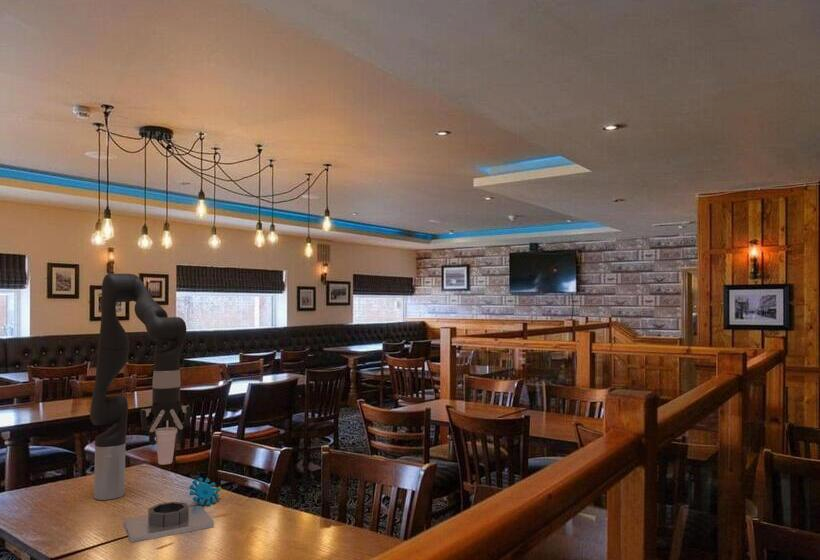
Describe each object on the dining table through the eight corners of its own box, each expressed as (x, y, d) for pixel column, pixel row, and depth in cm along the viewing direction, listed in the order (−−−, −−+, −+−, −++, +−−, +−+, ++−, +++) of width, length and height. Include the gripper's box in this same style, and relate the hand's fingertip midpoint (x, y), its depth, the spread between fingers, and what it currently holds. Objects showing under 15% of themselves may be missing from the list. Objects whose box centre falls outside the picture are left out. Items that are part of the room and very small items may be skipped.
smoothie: (182, 461, 178) (182, 413, 178) (166, 466, 172) (167, 417, 172) (164, 459, 180) (165, 411, 180) (148, 464, 174) (149, 415, 174)
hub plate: (123, 523, 177) (123, 506, 177) (201, 510, 188) (201, 494, 189) (130, 542, 163) (130, 523, 163) (213, 527, 175) (214, 509, 175)
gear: (195, 505, 188) (187, 477, 194) (186, 516, 191) (179, 488, 196) (226, 501, 196) (218, 475, 202) (218, 512, 199) (210, 485, 204)
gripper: (189, 382, 184) (189, 438, 183) (138, 385, 176) (137, 443, 176) (194, 385, 177) (194, 443, 177) (141, 389, 170) (140, 449, 169)
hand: (165, 443), depth 176 cm, fingers closed on smoothie, 6 cm apart
